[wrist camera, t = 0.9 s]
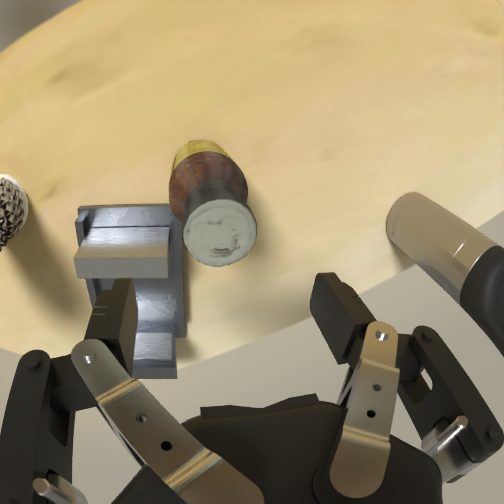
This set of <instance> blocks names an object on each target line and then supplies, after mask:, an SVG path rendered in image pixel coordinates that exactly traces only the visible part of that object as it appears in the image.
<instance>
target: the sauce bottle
mask: <svg viewBox="0 0 504 504" xmlns="http://www.w3.org/2000/svg"><path fill="white" fill-rule="evenodd" d="M247 197H248V187H247V182H246V179H245V177H244V174H243V172H242V171H241V169H240V168H239V167H238V165H237V164H236V163H235V162H234V161H233V160H232V159H231V158H230V156H229V155H228V154H227V153H226V152H225V151H224V150H223V149H222V148H221V147H220V146H219V145H217V144H216V143H214V142H212V141H208V140H196V141H190V142H189V143H188V144H186V145H184V146H183V147H182V148H181V149H180V150H179V151H178V152H177V154H176V156H175V158H174V161H173V164H172V169H171V176H170V182H169V202H170V206H171V209H172V212H173V214H174V215H175V216H176V217H177V218H178V219H179V221H180V222H181V223H182V224H183V239H184V244H185V246H186V248H187V250H188V251H189V253H190V254H191V256H192V257H193V258H195V259H196V260H197V261H199V262H201V263H203V264H205V265H209V266H214V267H221V266H226V265H230V264H232V263H235V262H237V261H239V260H240V259H242V258H243V257H245V256H246V255H247V253H249V252H250V251H251V249H252V247H253V246H254V243H255V240H256V235H257V224H256V220H255V218H254V216H253V213H252V212H251V210H250V208H249V206H248V205H247V204H246V202H247Z"/></svg>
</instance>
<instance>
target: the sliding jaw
mask: <svg viewBox="0 0 504 504" xmlns="http://www.w3.org/2000/svg"><path fill="white" fill-rule="evenodd" d="M169 253H170V227H128V228H90V230H89V232H88V233H87V235H86V237H85V238H84V240H83V242H82V243H81V245H80V247H79V249H78V250H77V252H76V254H75V256H74V257H73V259H74V263H75V268H76V272H77V277H78V278H168V268H169Z"/></svg>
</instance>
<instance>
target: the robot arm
mask: <svg viewBox="0 0 504 504" xmlns="http://www.w3.org/2000/svg"><path fill="white" fill-rule="evenodd" d="M386 230H387V235H388V237H389V239H390V240H391V241H392V242H393V243H394V244H395V245H396V246H397V247H399V248H400V249H401V250H402V251H403V252H404V253H405V254H406V255H407V256H409V257H410V258H411V259H412V260H413V261H414V262H415V263H416V264H417V265H418V266H420V267H421V268H422V269H423V270H424V271H425V272H426V273H427V274H428V275H429V276H430V277H431V278H432V279H433V280H435V281H436V282H437V283H438V284H439V285H440V286H441V287H442V288H443V289H444V290H445V291H446V292H447V293H448V294H449V295H450V296H451V297H452V298H453V299H454V300H455V301H456V302H457V303H458V304H459V305H460V306H461V307H462V308H463V309H464V310H465V311H466V312H467V313H468V314H469V315H470V317H471V318H472V319H473V320H474V321H475V322H476V323H477V324H478V325H479V327H480V328H481V329H482V330H483V331H484V332H485V333H486V335H487V336H488V337H489V338H490V339H491V341H492V342H493V343H494V345H495V346H496V347H497V349H498V350H499V351H500V353H501V354H502V355H503V357H504V248H502V247H501V246H500V245H498V244H497V243H496V242H494V241H493V240H492V239H490V238H489V237H487V236H486V235H484V234H483V233H482V232H480V231H479V230H477V229H476V228H474V227H473V226H471V225H470V224H468V223H467V222H465V221H464V220H462V219H461V218H459V217H458V216H456V215H455V214H453V213H451V212H450V211H448V210H447V209H445V208H443V207H442V206H440V205H439V204H437V203H435V202H434V201H432V200H430V199H429V198H427V197H425V196H424V195H422V194H420V193H417V192H411V193H408V194H405V195H404V196H402V197H401V198H400V199H399V200H397V201H396V203H395V204H394V205H393V207H392V209H391V210H390V212H389V215H388V218H387V223H386ZM310 311H311V314H312V316H313V317H314V319H315V321H316V323H317V325H318V327H319V329H320V331H321V332H322V334H323V336H324V338H325V340H326V342H327V344H328V346H329V348H330V350H331V352H332V354H333V355H334V357H335V359H336V361H337V363H338V365H339V364H345V363H348V364H349V365H350V367H349V369H348V371H347V374H346V377H345V381H344V383H343V386H342V389H341V393H340V395H339V398H338V401H337V404H334V403H331V402H325V401H319V400H318V397H317V395H316V393H314V394H309V395H303V396H297V397H291V398H288V399H285V400H283V401H280V402H278V403H275V404H273V405H270V406H267V407H265V408H251V407H242V406H233V405H225V406H213V407H200V410H201V415H200V416H196V417H194V418H191V419H188V420H187V421H185V422H183V423H181V424H180V423H179V422H178V421H177V420H176V419H175V418H174V417H173V416H172V415H171V414H170V413H169V412H168V411H167V410H166V409H165V408H164V407H163V406H162V405H161V404H160V403H159V402H158V400H156V399H155V397H154V396H153V395H152V394H151V393H150V392H149V391H148V390H147V388H146V387H145V386H144V385H143V384H142V383H141V382H140V381H139V380H138V379H134V380H133V379H132V370H133V360H134V350H135V342H136V333H137V326H138V305H137V299H136V293H135V286H134V280H133V278H115V280H114V283H113V287H112V290H103V291H102V292H101V294H100V295H99V296H98V297H97V299H96V302H95V305H94V308H93V311H92V315H91V317H90V320H89V324H88V327H87V330H86V334H85V337H84V340H83V341H81V342H79V343H78V344H76V345H75V346H74V348H73V349H72V352H71V354H69V355H66V356H61V357H57V358H52V359H50V357H49V355H48V354H47V353H46V352H45V351H42V350H32V351H29V352H27V353H26V354H24V355H23V356H22V358H21V359H20V361H19V363H18V366H17V369H16V373H15V376H14V379H13V383H12V386H11V390H10V394H9V398H8V402H7V406H6V410H5V414H4V419H3V424H2V429H1V434H0V504H88V503H87V500H86V498H85V496H84V494H83V493H82V492H81V491H80V490H79V489H77V488H76V487H74V486H73V485H72V453H73V452H72V451H73V435H74V422H75V412H76V411H78V410H83V409H88V408H92V407H96V408H97V409H98V411H99V412H100V413H101V415H102V417H103V418H104V419H105V421H106V422H107V424H108V425H109V426H110V428H111V429H112V431H113V432H114V433H115V435H116V436H117V437H118V438H119V440H120V441H121V442H122V444H123V445H124V447H125V448H126V449H127V451H128V452H129V453H130V455H131V456H132V457H133V458H134V459H135V461H136V462H137V463H138V464H139V465H140V467H141V470H139V472H138V473H137V474H136V475H135V477H134V478H133V479H132V480H131V481H130V482H129V484H128V485H127V486H126V487H125V488H124V489H123V491H122V492H121V493H120V494H119V495H118V496H117V497H116V499H115V500H114V501H113V502H112V503H111V504H443V500H442V484H444V483H445V482H446V483H453V482H455V481H457V480H458V479H460V478H461V477H463V476H464V475H466V474H467V473H469V472H470V471H472V470H473V469H474V468H476V467H477V466H478V465H480V464H481V463H483V462H484V461H485V460H486V459H487V458H489V457H490V456H492V455H493V454H494V453H495V452H497V451H498V450H499V449H500V448H501V447H502V445H503V443H504V433H503V431H502V429H501V427H500V425H499V423H498V422H497V420H496V418H495V417H494V415H493V413H492V412H491V410H490V409H489V407H488V406H487V404H486V402H485V401H484V399H483V398H482V396H481V395H480V393H479V391H478V390H477V388H476V387H475V385H474V384H473V382H472V381H471V379H470V378H469V376H468V375H467V374H466V372H465V371H464V369H463V368H462V366H461V365H460V363H459V362H458V361H457V359H456V358H455V357H454V355H453V354H452V352H451V351H450V349H449V348H448V347H447V345H446V344H445V343H444V341H443V340H442V339H441V337H440V336H439V335H438V333H437V332H436V331H435V330H433V329H432V328H430V327H427V326H417V327H416V328H415V329H414V331H413V333H412V334H411V335H409V334H398V333H397V331H396V330H395V329H394V328H393V327H392V326H391V325H389V324H387V323H385V322H380V321H377V320H376V319H375V317H374V316H373V315H372V313H371V312H370V311H369V309H368V308H367V307H366V305H365V304H364V303H363V301H362V300H361V298H360V297H358V294H357V293H356V292H355V290H354V289H353V288H352V287H350V286H349V285H347V284H346V283H345V282H341V280H340V279H339V278H338V276H337V275H336V274H335V273H334V272H329V273H318V274H317V275H316V278H315V282H314V286H313V290H312V294H311V298H310ZM424 368H425V370H426V371H427V373H428V374H429V376H430V378H431V380H432V384H433V386H432V390H430V388H429V387H428V385H427V383H426V382H425V380H424V378H423V377H422V375H421V372H422V371H423V370H424ZM397 393H398V395H399V396H400V398H401V400H402V402H403V404H404V406H405V408H406V410H407V412H408V414H409V416H410V418H411V420H412V422H413V424H414V426H415V428H416V430H417V432H418V434H419V436H420V438H421V440H422V443H421V450H422V451H421V450H419V449H417V448H415V447H413V446H411V445H409V444H407V443H406V442H404V441H402V440H400V439H398V438H397V437H395V436H393V435H391V434H390V430H391V425H392V420H393V414H394V408H395V402H396V395H397Z"/></svg>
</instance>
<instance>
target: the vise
mask: <svg viewBox="0 0 504 504" xmlns="http://www.w3.org/2000/svg"><path fill="white" fill-rule="evenodd" d="M78 216H79V217H78V218H77V219H76V221H75V227H76V233H77V239H78V245H79V247H80V245H81V243H82V242H83V240H84V238H85V237H86V235H87V233H88V232H89V230H90V228H128V227H170V253H169V268H168V278H133V280H134V286H135V293H136V299H137V305H138V326H137V333H136V342H135V350H134V360H133V370H132V379H177V358H176V338H179V337H186V336H185V318H184V296H183V263H182V223H181V222H180V221H179V219H178V218H177V217H176V216H175V215H174V214H173V212H172V209H171V206H170V204H119V205H92V206H80V207H79V208H78ZM85 279H86V284H87V288H88V292H89V296H90V300H91V304H92V308H94V305H95V302H96V299H97V297H98V296H99V295H100V294H101V292H102V291H103V290H112V287H113V283H114V280H115V278H85Z"/></svg>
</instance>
